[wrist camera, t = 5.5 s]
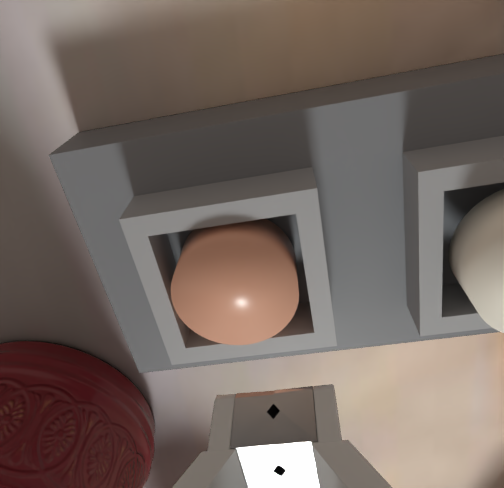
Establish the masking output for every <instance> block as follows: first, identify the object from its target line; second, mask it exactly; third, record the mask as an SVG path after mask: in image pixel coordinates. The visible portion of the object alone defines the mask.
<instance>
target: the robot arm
mask: <svg viewBox="0 0 504 488" xmlns="http://www.w3.org/2000/svg"><path fill="white" fill-rule="evenodd" d="M172 488H392V487H391V486H390V485H389V484H388V482H387V481H386V480H385V479H384V478H383V477H382V476H381V475H380V474H379V473H378V472H377V471H376V470H375V468H374V467H373V466H372V465H371V464H370V463H369V462H368V461H367V460H366V459H365V458H364V457H363V456H362V455H361V453H360V452H359V451H358V450H357V449H356V448H355V447H354V446H353V445H352V444H351V443H350V442H349V441H348V440H342V437H341V431H340V424H339V417H338V410H337V403H336V396H335V389H334V385H333V384H331V385H321V386H310V387H301V388H292V389H283V390H275V391H266V392H251V393H237V394H228V395H217V397H216V399H215V402H214V409H213V415H212V422H211V429H210V435H209V442H208V449H207V451H205V452H201V453H200V454H199V455H198V457H197V458H196V459H195V460H194V462H193V463H192V464H191V465H190V466H189V468H188V469H187V470H186V471H185V472H184V474H183V475H182V476H181V477H180V479H179V480H178V481H177V482H176V483H175V485H174V486H173V487H172Z"/></svg>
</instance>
